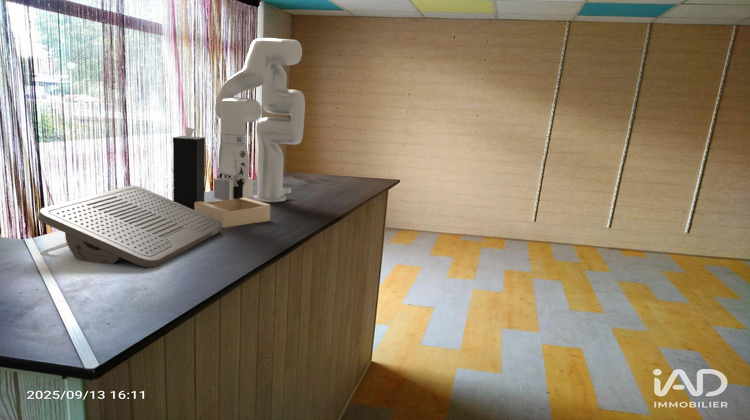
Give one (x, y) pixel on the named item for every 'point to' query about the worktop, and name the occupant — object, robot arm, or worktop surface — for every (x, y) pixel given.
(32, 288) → the worktop surface
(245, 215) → the carton
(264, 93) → the robot arm
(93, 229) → the foot rest
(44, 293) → the worktop surface
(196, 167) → the tissue box
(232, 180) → the capped box
